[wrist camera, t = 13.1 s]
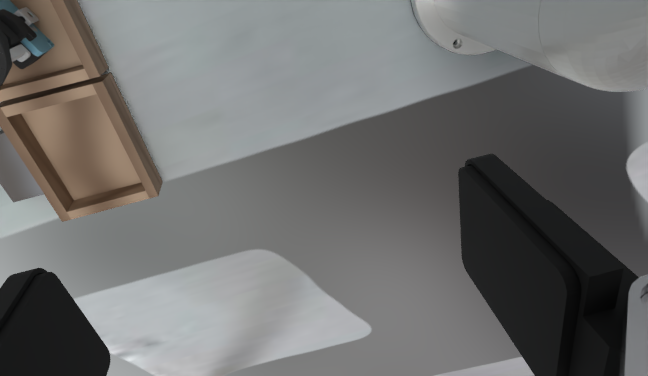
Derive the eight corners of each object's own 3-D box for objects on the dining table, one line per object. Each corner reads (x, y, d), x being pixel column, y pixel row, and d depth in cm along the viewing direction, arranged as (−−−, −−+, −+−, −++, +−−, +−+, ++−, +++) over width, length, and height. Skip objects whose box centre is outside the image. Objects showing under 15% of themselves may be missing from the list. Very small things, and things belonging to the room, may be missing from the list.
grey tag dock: (111, 72, 35) (102, 81, 33) (162, 182, 41) (158, 195, 38) (-41, 111, 35) (-60, 122, 32) (32, 216, 40) (20, 233, 38)
